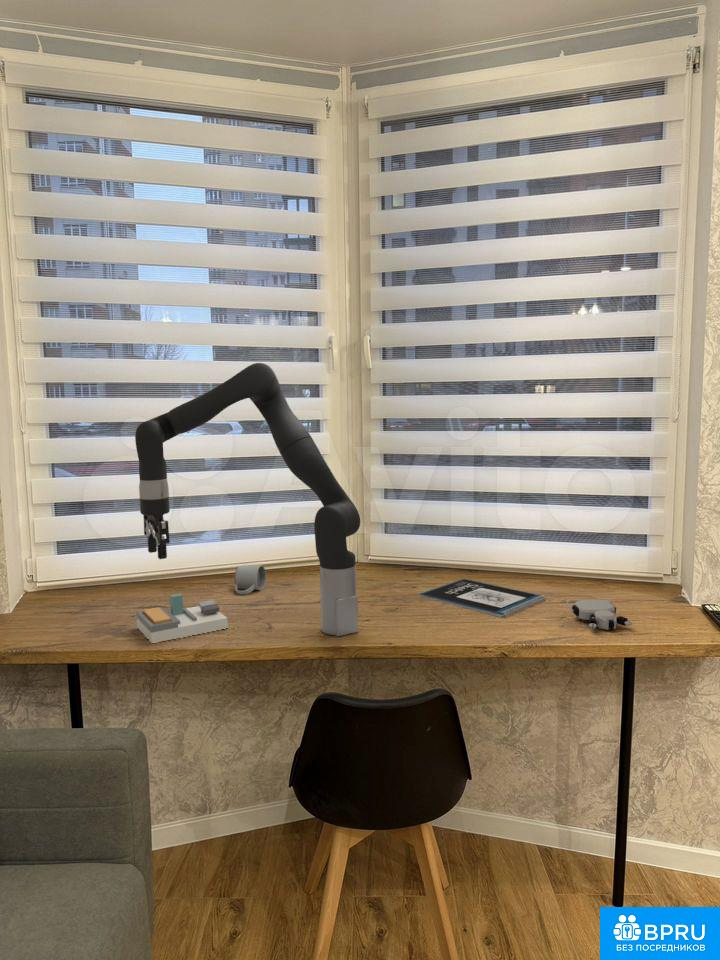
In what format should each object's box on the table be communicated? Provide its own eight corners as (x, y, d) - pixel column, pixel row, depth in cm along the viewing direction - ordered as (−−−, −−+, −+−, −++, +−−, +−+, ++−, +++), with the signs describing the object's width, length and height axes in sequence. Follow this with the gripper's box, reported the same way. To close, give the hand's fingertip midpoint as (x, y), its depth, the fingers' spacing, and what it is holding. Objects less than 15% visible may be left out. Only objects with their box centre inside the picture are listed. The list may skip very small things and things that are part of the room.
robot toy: (634, 635, 185) (608, 611, 199) (636, 618, 184) (609, 596, 198) (588, 638, 183) (564, 614, 198) (589, 621, 182) (565, 598, 197)
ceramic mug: (242, 584, 232) (241, 561, 231) (267, 585, 230) (265, 562, 229) (229, 595, 222) (227, 570, 221) (254, 596, 220) (253, 571, 219)
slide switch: (183, 613, 196) (182, 595, 195) (173, 615, 194) (172, 597, 193) (181, 611, 197) (180, 593, 197) (170, 613, 196) (169, 595, 195)
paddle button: (171, 626, 185) (170, 618, 185) (155, 629, 183) (154, 621, 183) (158, 614, 195) (158, 607, 194) (143, 617, 193) (143, 609, 192)
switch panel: (227, 628, 192) (227, 612, 191) (151, 644, 182) (150, 626, 181) (209, 614, 204) (208, 598, 203) (137, 628, 194) (136, 611, 193)
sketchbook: (463, 582, 232) (463, 576, 232) (547, 602, 211) (547, 595, 211) (419, 597, 217) (419, 590, 217) (504, 620, 196) (504, 612, 196)
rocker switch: (219, 614, 195) (219, 607, 195) (204, 617, 193) (204, 610, 193) (212, 606, 199) (213, 599, 199) (198, 608, 197) (198, 602, 197)
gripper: (177, 498, 190) (179, 558, 192) (159, 490, 202) (162, 548, 204) (148, 501, 186) (151, 563, 188) (132, 493, 198) (135, 552, 200)
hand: (157, 555), depth 196 cm, fingers open, 8 cm apart
